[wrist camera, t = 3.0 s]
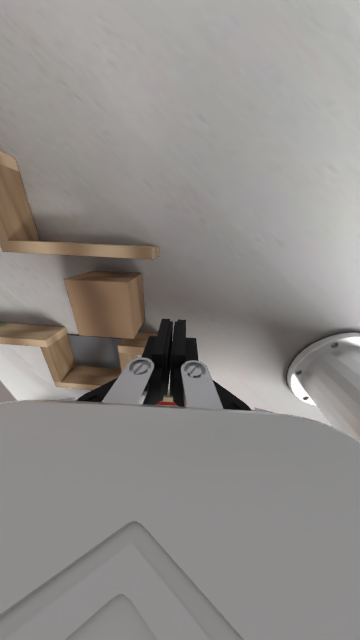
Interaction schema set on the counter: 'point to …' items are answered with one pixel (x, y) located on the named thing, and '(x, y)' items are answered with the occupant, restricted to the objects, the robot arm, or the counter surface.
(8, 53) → the counter surface
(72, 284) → the block
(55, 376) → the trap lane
